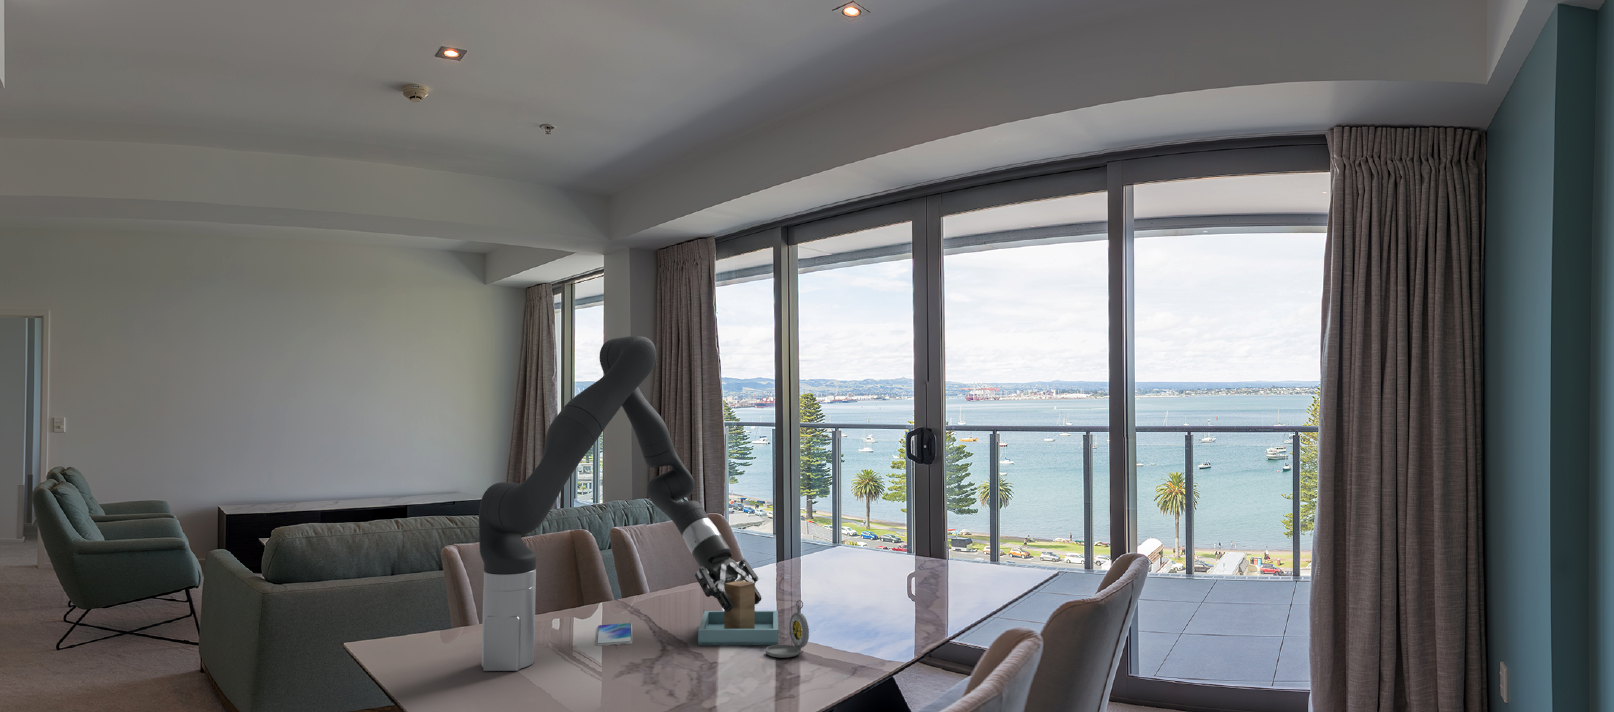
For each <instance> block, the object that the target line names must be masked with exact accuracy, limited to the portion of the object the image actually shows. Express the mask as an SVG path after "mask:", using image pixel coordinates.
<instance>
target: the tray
mask: <svg viewBox="0 0 1614 712" xmlns="http://www.w3.org/2000/svg"><path fill="white" fill-rule="evenodd" d="M697 636H698V637H697V646H773V645H779V610H755V629H724V610H704V611H703V614H702V618H701V621H700V623H699V627H698V631H697Z"/></svg>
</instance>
